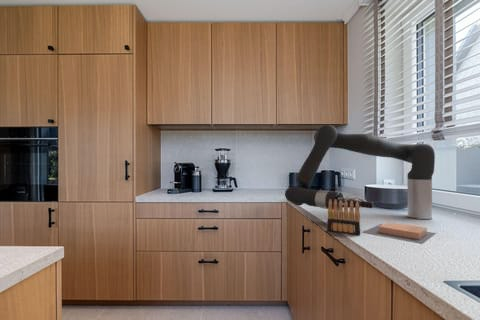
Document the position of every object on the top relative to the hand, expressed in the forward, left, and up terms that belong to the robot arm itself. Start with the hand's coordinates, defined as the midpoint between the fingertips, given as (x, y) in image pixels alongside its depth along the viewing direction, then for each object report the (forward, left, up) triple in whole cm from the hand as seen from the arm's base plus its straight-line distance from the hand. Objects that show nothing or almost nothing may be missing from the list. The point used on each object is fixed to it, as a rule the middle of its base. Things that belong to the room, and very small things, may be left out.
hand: (372, 205), depth 100 cm
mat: (0, +9, -9) cm, 12 cm away
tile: (0, +4, -7) cm, 8 cm away
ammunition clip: (+14, -4, -9) cm, 17 cm away
